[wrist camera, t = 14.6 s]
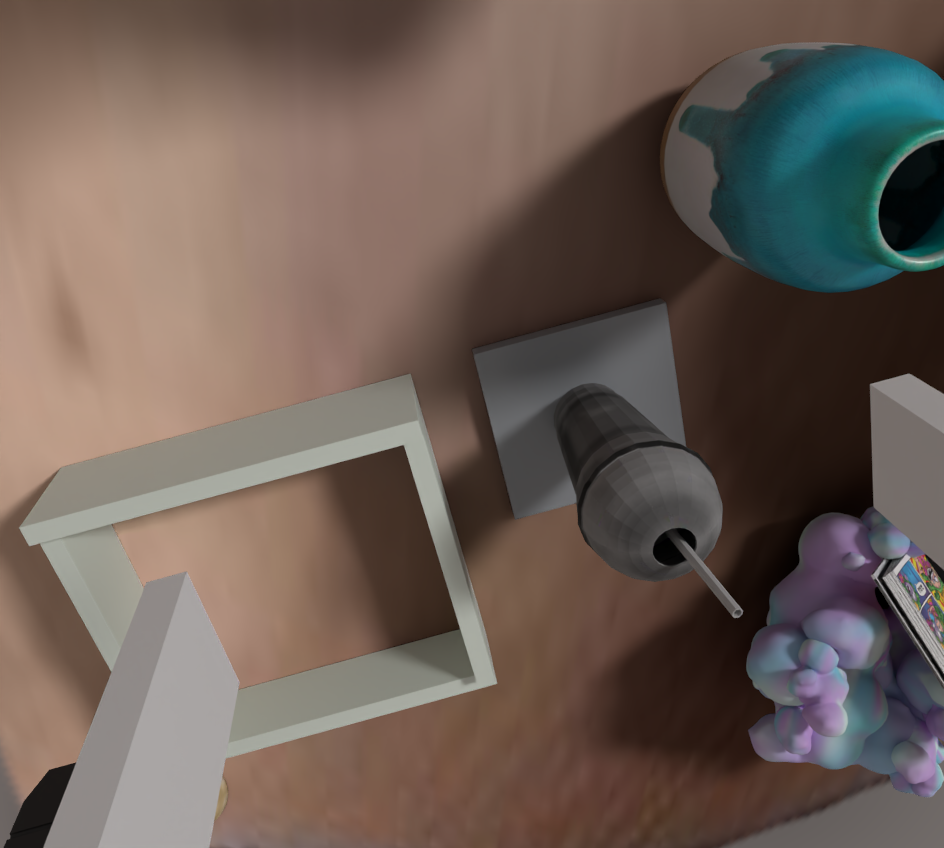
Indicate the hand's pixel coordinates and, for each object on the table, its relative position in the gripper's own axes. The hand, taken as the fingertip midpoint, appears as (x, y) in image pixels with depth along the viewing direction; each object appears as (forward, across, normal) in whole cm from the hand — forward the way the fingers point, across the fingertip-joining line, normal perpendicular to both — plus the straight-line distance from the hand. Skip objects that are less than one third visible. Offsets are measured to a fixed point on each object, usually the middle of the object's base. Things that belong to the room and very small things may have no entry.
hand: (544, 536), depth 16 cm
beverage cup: (+34, +7, -15) cm, 38 cm away
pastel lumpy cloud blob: (+35, +24, -35) cm, 55 cm away
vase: (+35, +18, -1) cm, 39 cm away
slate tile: (+35, +7, -15) cm, 38 cm away
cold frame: (+35, -14, -20) cm, 42 cm away
